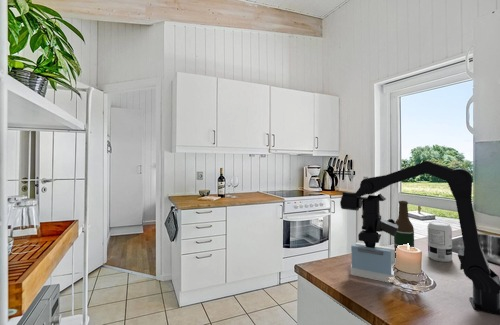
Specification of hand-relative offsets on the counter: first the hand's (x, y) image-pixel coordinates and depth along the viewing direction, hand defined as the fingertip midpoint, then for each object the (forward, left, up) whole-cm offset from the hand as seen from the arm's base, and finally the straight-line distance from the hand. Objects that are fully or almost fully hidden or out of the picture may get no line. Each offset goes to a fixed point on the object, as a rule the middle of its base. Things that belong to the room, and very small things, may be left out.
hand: (371, 254), depth 91 cm
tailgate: (-3, 0, -5) cm, 6 cm away
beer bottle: (+30, -10, -8) cm, 33 cm away
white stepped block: (+5, 0, -8) cm, 9 cm away
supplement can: (+32, -23, -8) cm, 40 cm away
